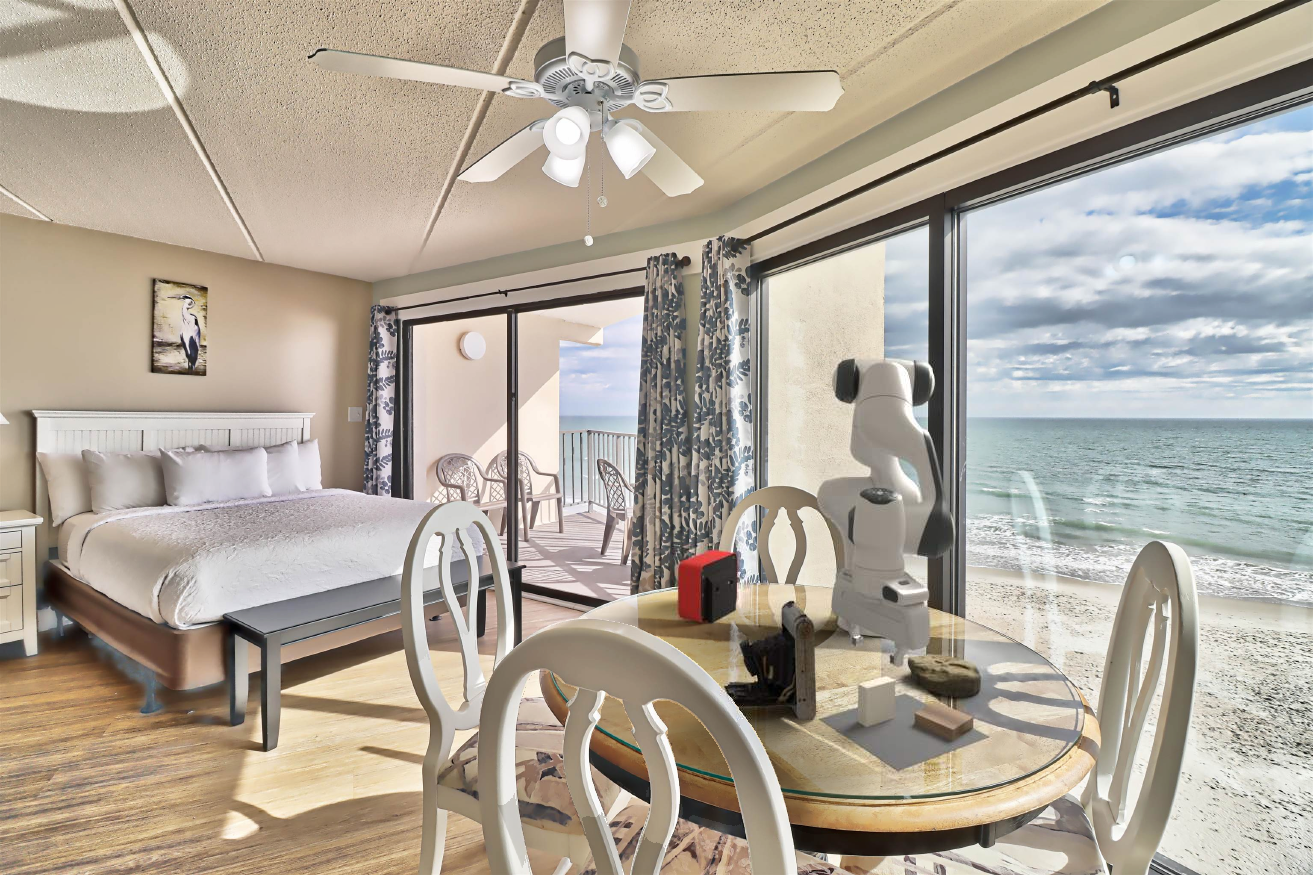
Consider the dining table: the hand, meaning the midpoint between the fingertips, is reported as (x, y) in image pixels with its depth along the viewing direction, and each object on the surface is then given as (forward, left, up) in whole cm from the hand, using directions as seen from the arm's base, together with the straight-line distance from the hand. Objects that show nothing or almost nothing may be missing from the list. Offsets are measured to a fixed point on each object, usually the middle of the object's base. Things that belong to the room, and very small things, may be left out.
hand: (875, 654), depth 113 cm
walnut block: (-9, +8, -12) cm, 17 cm away
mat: (-2, +5, -12) cm, 13 cm away
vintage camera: (+15, -11, -13) cm, 23 cm away
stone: (-24, -5, -13) cm, 28 cm away
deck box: (0, +1, -12) cm, 12 cm away
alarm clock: (-5, -63, -13) cm, 65 cm away
